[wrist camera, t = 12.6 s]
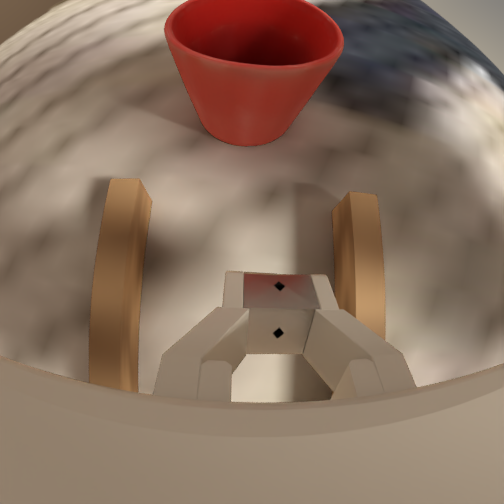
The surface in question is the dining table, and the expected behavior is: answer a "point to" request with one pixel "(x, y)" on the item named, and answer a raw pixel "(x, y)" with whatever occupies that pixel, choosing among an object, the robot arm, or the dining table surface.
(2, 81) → the dining table surface
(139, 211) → the brown wooden u-shaped frame
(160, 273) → the dining table surface
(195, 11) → the flower pot
